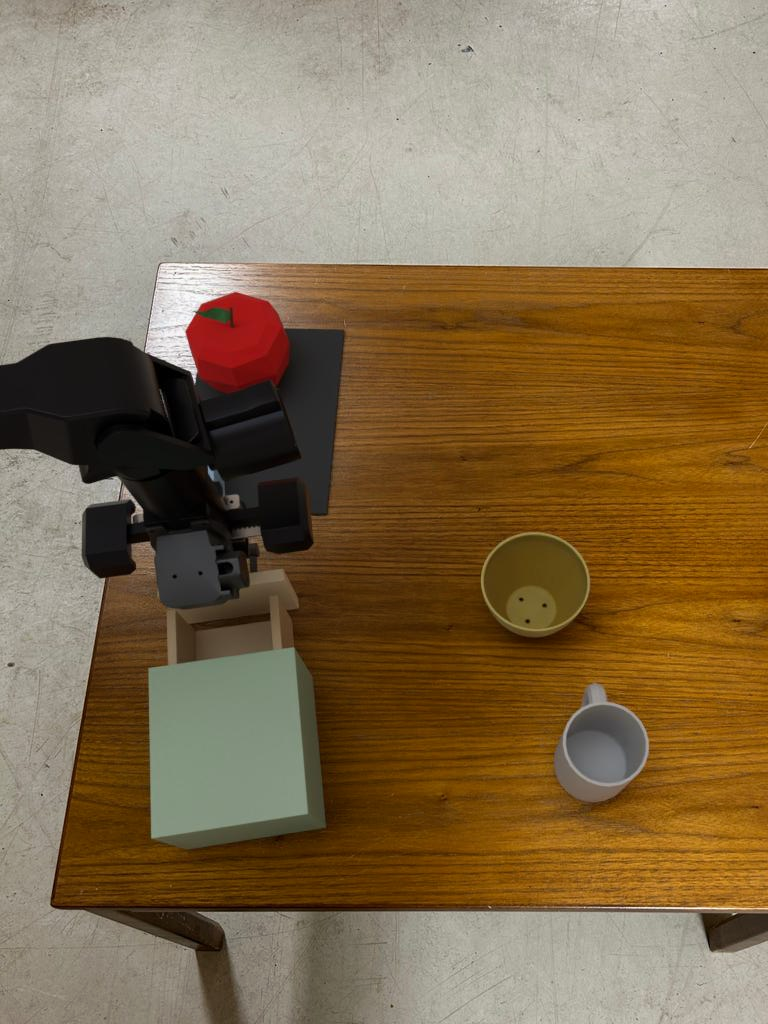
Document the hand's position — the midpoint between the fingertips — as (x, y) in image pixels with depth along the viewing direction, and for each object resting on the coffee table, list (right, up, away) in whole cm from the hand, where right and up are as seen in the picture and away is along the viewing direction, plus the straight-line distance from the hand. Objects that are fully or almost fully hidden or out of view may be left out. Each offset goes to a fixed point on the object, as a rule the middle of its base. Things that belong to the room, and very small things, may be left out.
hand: (227, 569), depth 76 cm
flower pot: (+29, -4, +5) cm, 30 cm away
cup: (+34, -17, 0) cm, 38 cm away
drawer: (+1, -8, +2) cm, 8 cm away
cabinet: (+3, -18, -1) cm, 18 cm away
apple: (-2, +23, +14) cm, 27 cm away
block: (-5, +9, +9) cm, 14 cm away
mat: (0, +18, +12) cm, 22 cm away
